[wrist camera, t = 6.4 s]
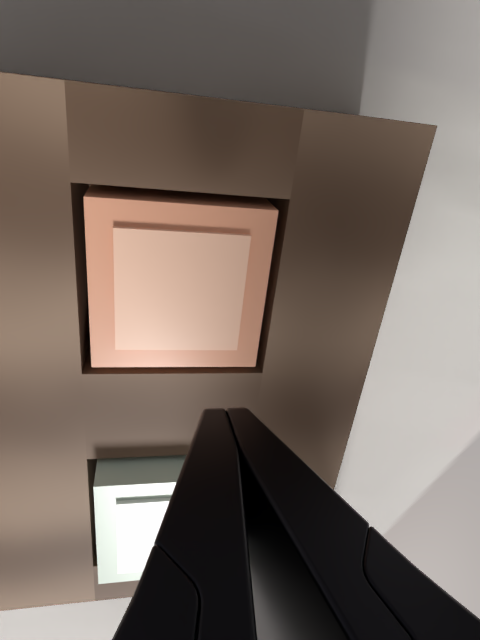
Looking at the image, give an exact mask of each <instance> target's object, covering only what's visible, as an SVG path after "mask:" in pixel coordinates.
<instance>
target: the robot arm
mask: <svg viewBox="0 0 480 640" xmlns="http://www.w3.org/2000/svg"><path fill="white" fill-rule="evenodd" d="M112 640H480V619H479V618H478V617H476V616H475V615H474V614H473V613H472V612H470V611H469V610H468V609H467V608H465V607H464V606H463V605H461V604H460V603H459V602H458V601H457V600H455V599H454V598H453V597H451V596H450V595H449V594H448V593H447V592H446V591H444V590H443V589H442V588H441V587H440V586H438V585H437V584H436V583H434V582H433V581H432V580H431V579H430V578H429V577H428V576H426V575H425V574H424V573H423V572H422V571H420V570H419V569H418V568H417V567H416V566H414V565H413V564H412V563H411V562H410V561H409V560H408V559H407V558H406V557H405V556H403V555H402V554H401V553H400V552H399V551H398V550H397V549H396V548H395V547H393V545H391V544H390V543H389V542H388V541H387V540H386V539H385V538H384V537H383V536H382V535H381V534H380V533H379V532H378V531H377V530H376V529H374V528H373V527H369V523H368V522H367V521H366V520H365V519H364V518H363V517H362V516H361V515H360V514H358V513H357V512H356V511H355V510H354V509H353V508H352V507H351V506H350V505H349V504H348V503H347V502H346V501H345V500H344V499H343V498H342V497H341V496H339V495H338V494H337V493H336V492H335V491H334V490H333V489H332V488H331V487H330V486H329V485H328V484H327V483H326V482H325V481H324V480H323V479H322V478H321V477H319V476H318V475H317V474H316V473H315V472H314V471H313V470H312V469H311V468H310V467H309V466H308V465H307V464H306V463H305V462H304V461H303V460H302V459H301V458H299V457H298V456H297V455H296V454H295V453H294V452H293V451H292V450H291V449H290V448H289V447H288V446H287V445H286V444H285V443H284V442H283V441H282V440H281V439H279V438H278V437H277V436H276V435H275V434H274V433H273V432H272V431H271V430H270V429H269V428H268V427H267V426H266V425H265V424H264V423H263V422H262V421H260V420H259V419H258V418H257V417H256V416H255V415H254V414H253V413H252V412H251V411H250V410H249V409H248V408H246V407H230V408H227V409H226V410H225V409H223V408H205V409H204V410H203V412H202V414H201V417H200V420H199V422H198V425H197V428H196V431H195V433H194V436H193V439H192V441H191V444H190V447H189V450H188V452H187V455H186V458H185V460H184V463H183V466H182V469H181V471H180V474H179V477H178V479H177V482H176V485H175V488H174V490H173V493H172V496H171V498H170V501H169V504H168V507H167V509H166V512H165V515H164V517H163V520H162V523H161V526H160V528H159V531H158V534H157V536H156V539H155V542H154V546H153V547H152V549H151V552H150V554H149V557H148V560H147V562H146V565H145V568H144V570H143V573H142V575H141V578H140V580H139V582H138V585H137V587H136V590H135V592H134V595H133V597H132V599H131V602H130V604H129V606H128V608H127V610H126V612H125V614H124V616H123V618H122V620H121V622H120V624H119V626H118V629H117V631H116V633H115V635H114V637H113V639H112Z"/></svg>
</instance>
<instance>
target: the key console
mask: <svg viewBox="0 0 480 640" xmlns="http://www.w3.org/2000/svg"><path fill="white" fill-rule="evenodd" d="M436 128H437V126H435V125H428V124H420V123H413V122H405V121H398V120H390V119H383V118H375V117H368V116H360V115H352V114H344V113H336V112H328V111H320V110H311V109H303V108H295V107H287V106H279V105H271V104H262V103H254V102H246V101H238V100H230V99H222V98H213V97H205V96H197V95H189V94H181V93H173V92H164V91H156V90H148V89H140V88H132V87H124V86H115V85H107V84H99V83H91V82H83V81H75V80H66V79H58V78H50V77H42V76H34V75H26V74H17V73H9V72H1V71H0V611H4V610H13V609H22V608H32V607H41V606H51V605H60V604H69V603H79V602H88V601H98V600H107V599H116V598H126V597H133V595H134V592H135V590H136V587H137V585H138V582H139V580H135V581H125V582H115V583H105V584H98V566H97V547H96V528H95V509H94V490H93V486H94V479H95V472H96V465H97V459H102V458H125V457H148V456H171V455H187V452H188V450H189V447H190V444H191V441H192V439H193V436H194V433H195V431H196V428H197V425H198V422H199V420H200V417H201V414H202V412H203V410H204V409H205V408H223V409H225V410H226V409H227V408H230V407H246V408H248V409H249V410H250V411H251V412H252V413H253V414H254V415H255V416H256V417H257V418H258V419H259V420H260V421H262V422H263V423H264V424H265V425H266V426H267V427H268V428H269V429H270V430H271V431H272V432H273V433H274V434H275V435H276V436H277V437H278V438H279V439H281V440H282V441H283V442H284V443H285V444H286V445H287V446H288V447H289V448H290V449H291V450H292V451H293V452H294V453H295V454H296V455H297V456H298V457H299V458H301V459H302V460H303V461H304V462H305V463H306V464H307V465H308V466H309V467H310V468H311V469H312V470H313V471H314V472H315V473H316V474H317V475H318V476H319V477H321V478H322V479H323V480H324V481H325V482H326V483H327V484H328V485H329V486H330V487H331V488H332V489H333V490H334V487H335V484H336V480H337V477H338V473H339V470H340V466H341V463H342V459H343V456H344V452H345V449H346V445H347V441H348V438H349V434H350V431H351V427H352V424H353V420H354V417H355V413H356V410H357V406H358V403H359V399H360V396H361V392H362V389H363V385H364V382H365V378H366V375H367V371H368V368H369V364H370V361H371V357H372V354H373V350H374V346H375V343H376V339H377V336H378V332H379V329H380V325H381V322H382V318H383V315H384V311H385V308H386V304H387V301H388V297H389V294H390V290H391V287H392V283H393V280H394V276H395V273H396V269H397V266H398V262H399V259H400V255H401V252H402V248H403V244H404V241H405V237H406V234H407V230H408V227H409V223H410V220H411V216H412V213H413V209H414V206H415V202H416V199H417V195H418V192H419V188H420V185H421V181H422V178H423V174H424V171H425V167H426V164H427V160H428V157H429V153H430V149H431V146H432V142H433V139H434V135H435V132H436ZM91 184H97V185H110V186H123V187H136V188H149V189H162V190H175V191H188V192H201V193H213V194H226V195H239V196H252V197H265V198H266V199H267V200H268V201H269V202H270V203H271V204H272V205H273V206H274V207H275V208H276V209H277V210H279V211H278V218H277V224H276V231H275V238H274V245H273V251H272V258H271V265H270V271H269V278H268V285H267V292H266V298H265V305H264V312H263V318H262V325H261V332H260V339H259V345H258V352H257V359H256V366H255V367H91V346H90V325H89V304H88V282H87V261H86V240H85V219H84V198H83V196H84V195H85V193H86V192H87V190H88V189H89V187H90V185H91Z"/></svg>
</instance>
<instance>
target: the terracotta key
mask: <svg viewBox="0 0 480 640" xmlns="http://www.w3.org/2000/svg"><path fill="white" fill-rule="evenodd" d="M83 198H84V219H85V240H86V261H87V282H88V304H89V325H90V346H91V367H255V366H256V359H257V352H258V345H259V339H260V332H261V325H262V318H263V312H264V305H265V298H266V292H267V285H268V278H269V271H270V265H271V258H272V251H273V245H274V238H275V231H276V224H277V218H278V211H279V210H277V209H276V208H275V207H274V206H273V205H272V204H271V203H270V202H269V201H268V200H267V199H266V198H265V197H252V196H239V195H226V194H213V193H201V192H188V191H175V190H162V189H149V188H136V187H123V186H110V185H97V184H91V185H90V187H89V189H88V190H87V192H86V193H85V195H84V196H83Z"/></svg>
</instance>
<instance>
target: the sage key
mask: <svg viewBox="0 0 480 640" xmlns="http://www.w3.org/2000/svg"><path fill="white" fill-rule="evenodd" d="M185 458H186V455H171V456H148V457H125V458H102V459H97V465H96V472H95V479H94V486H93V490H94V509H95V528H96V547H97V566H98V584H105V583H115V582H125V581H135V580H140V578H141V575H142V573H143V570H144V568H145V565H146V562H147V560H148V557H149V554H150V552H151V549H152V547H153V546H154V542H155V539H156V536H157V534H158V531H159V528H160V526H161V523H162V520H163V517H164V515H165V512H166V509H167V507H168V504H169V501H170V498H171V496H172V493H173V490H174V488H175V485H176V482H177V479H178V477H179V474H180V471H181V469H182V466H183V463H184V460H185Z"/></svg>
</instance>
